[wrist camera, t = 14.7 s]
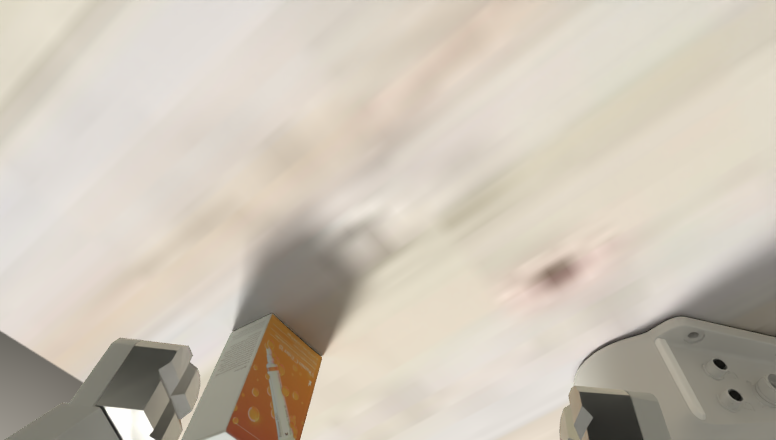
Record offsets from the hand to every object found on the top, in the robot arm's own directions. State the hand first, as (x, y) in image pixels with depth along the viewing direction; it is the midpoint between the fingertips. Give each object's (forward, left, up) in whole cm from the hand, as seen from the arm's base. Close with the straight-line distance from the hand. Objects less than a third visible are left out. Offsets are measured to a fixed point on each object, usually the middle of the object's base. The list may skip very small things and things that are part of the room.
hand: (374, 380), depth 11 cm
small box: (+14, +34, -27) cm, 45 cm away
